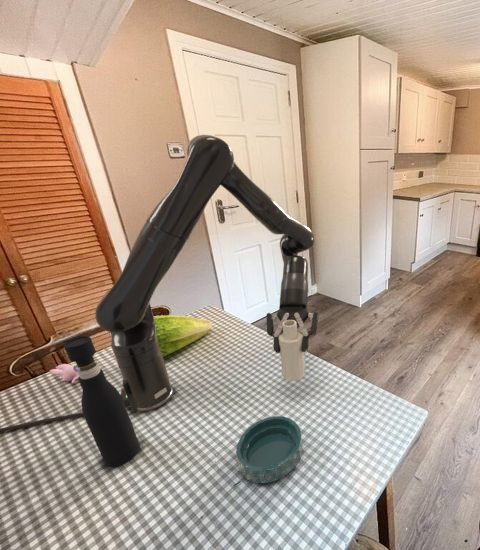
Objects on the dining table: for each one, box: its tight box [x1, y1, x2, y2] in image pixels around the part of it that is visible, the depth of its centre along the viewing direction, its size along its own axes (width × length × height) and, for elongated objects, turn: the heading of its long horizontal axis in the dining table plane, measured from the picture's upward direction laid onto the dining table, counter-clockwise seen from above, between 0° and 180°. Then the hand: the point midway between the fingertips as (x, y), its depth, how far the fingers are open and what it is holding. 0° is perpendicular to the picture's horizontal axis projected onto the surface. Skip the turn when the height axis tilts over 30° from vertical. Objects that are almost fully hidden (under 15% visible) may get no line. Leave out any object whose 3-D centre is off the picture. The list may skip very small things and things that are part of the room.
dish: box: [235, 415, 303, 484], centre depth 67 cm, size 14×14×4 cm
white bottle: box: [279, 320, 306, 382], centre depth 80 cm, size 6×6×16 cm
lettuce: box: [153, 314, 213, 358], centre depth 106 cm, size 14×23×14 cm
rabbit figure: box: [49, 363, 79, 384], centre depth 90 cm, size 6×6×15 cm
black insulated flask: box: [63, 335, 141, 468], centre depth 63 cm, size 6×6×30 cm
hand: (290, 352), depth 79 cm, fingers closed on white bottle, 6 cm apart
